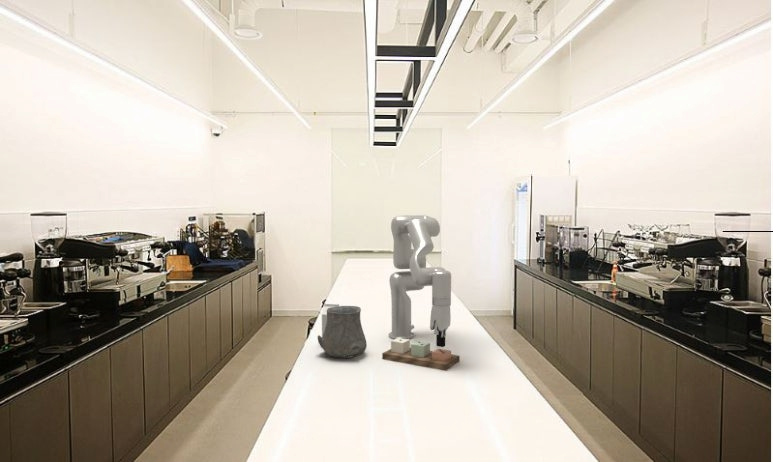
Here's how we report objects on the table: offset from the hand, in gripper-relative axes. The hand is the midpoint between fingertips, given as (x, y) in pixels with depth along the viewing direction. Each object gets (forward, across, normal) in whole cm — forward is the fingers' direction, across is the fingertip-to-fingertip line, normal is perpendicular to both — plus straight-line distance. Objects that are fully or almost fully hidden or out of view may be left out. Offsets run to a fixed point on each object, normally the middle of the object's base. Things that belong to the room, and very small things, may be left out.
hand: (440, 346), depth 204 cm
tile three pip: (+7, +1, +1) cm, 7 cm away
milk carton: (+8, +2, -54) cm, 54 cm away
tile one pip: (+5, +1, -18) cm, 19 cm away
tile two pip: (+5, +1, -9) cm, 10 cm away
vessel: (+8, +11, -40) cm, 42 cm away
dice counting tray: (+7, +1, -9) cm, 12 cm away
